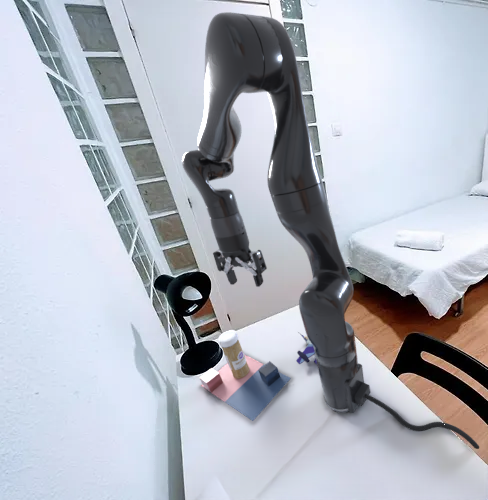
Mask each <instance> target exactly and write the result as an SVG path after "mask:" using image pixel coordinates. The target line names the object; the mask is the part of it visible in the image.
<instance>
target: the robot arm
mask: <svg viewBox="0 0 488 500" xmlns="http://www.w3.org/2000/svg"><path fill="white" fill-rule="evenodd" d="M203 77H204V78H203V79H204V82H203V90H204V93H203V95H204V97H203V98H204V99H203V103H204V109H203V117H202V122H201V125H200V129H199V132H198V136H197V143H196V145H197V149H193V150H188V151H186V152H185V153H184V154H183V156H182V158H181V159H182V160H181V164H182V168H183V170H184V172H185V174H186V175H187V177H188V179H189V180H190V181H191V182H192V184H193V186H194V187H195V188H196V190H197V192H198V194H199V195H200V196H201V198H202V200H203V203H204V205H205V208H206V211H207V215H208V216H209V220H210V226H211V229H212V233H213V234H214V237H215V240H216V244H217V247H218V249H216V250H215V251H213V253H212V255H213V258H214V261H215V264H216V268H217V271H219V272H223V273H224V274H225V275H226V278H227V280H228V283H229V284H230V285H231V286H232V285H235V284H236V283H237V282H238V278H237V274H236V272H235V270H234V267H235V268H238V267H239V268H244V269H245V270H246V271H249V272H250V273H251V274H252V278H253V280H254V284H255V287H257V288H260V287H261V286H262V284H263V283H264V278H263V275H262V274H263V273H264V272H265V271H266V270H267V269H268V267H267V264H266V261H265V259H264V255H263V252H262V250H261V249H257V250H255V251H254V250H253V251H252V250H251V249H250V239H249V236H248V232H247V229H246V226H245V222H244V219H243V216H242V214H241V212H240V209H239V206H238V202H237V198H236V196H235V193H234V191H233V190H232V189H230V188H226V187H225V188H224V187H223V188H214V187H213V185H211V184H210V182H213V181H216V180H220V179H225V178H228V177H230V176H231V175H232V174H233V173H234V172H235V152H236V149H237V147H238V145H239V144H240V143H239V142H240V141H241V137H242V124H241V120H240V118H239V116H238V113H237V112H236V109H234V104H235V102H236V101H237V99H238V97H239V96H240V95H241V94H257V93H258V94H259V93H266V94H267V98H268V100H269V104H270V108H271V113H272V119H273V124H274V134H273V140H272V141H273V142H272V148H271V154H270V156H269V162H268V168H267V175H266V176H267V179H266V180H267V188H268V192H269V194H270V197H271V202H272V203H273V206H274V209H275V213H276V214H277V217H278V220H279V221H280V224H281V225H282V227H283V228H285V230H286V231H287V232H288V233H289V235H290V236H292V238H293V239H294V240H296V241H297V242H298V243H299V245H300V246H301V247H302V248H303V250H304V252H305V253H306V257H307V259H308V262H309V266H310V269H311V273H312V274H311V275H312V279H311V281H310V282H309V284H308V285H307V286H306V288H304V290H303V291H302V292H301V294H300V296H299V299H298V310H299V314H300V318H301V321H302V325H303V327H304V331H305V334H306V336H307V337H308V339H309V341H310V342H311V343H312V344H313V347H314V352H315V354H314V356H315V359H316V361H317V364H316V365H317V370H318V374H319V379H320V383H321V389H322V392H323V399H324V403H325V404H326V406H327V407H328V408H329V409H330V410H332V411H333V412H335V413H337V414H341V413H342V414H344V413H348V412H349V413H351V414H354V413H355V411H356V409H357V408H358V407H361V408H362V407H363V406H364V404H365V403H366V401H369V402H371V403H373V404H374V405H377V406H379V407H380V408H382V409H383V410H385V411H386V412H387V413H388V414H390V415H392V416H393V417H394V418H395V419H396V420H397V421H398V422H399V423H400V424H401V425H402V426H403V427H405V428H407V429H408V430H410V431H414V432H424V431H429V430H432V429H434V428H442V429H447V430H449V431H452V432H454V433H456V434H457V435H459V436H461V437H462V438H463V439H464V440H466V441H467V442H468V443H469V444H470V445H471V446H472V447H473V448H474V449H476V450H479V449H480V446H479V444H478V443H477V442H476V440H474V439H473V438H472V437H471V436H470V435H469V434H468V433H467V432H465V431H464V430H462V429H461V428H460V427H457V426H455V425H453V424H450V423H447V422H443V421H433V422H428V423H427V424H423V425H416V424H415V425H414V424H412V423H409V422H407V421H406V420H405V419H404V418H403V417H402V416H401V415H400V414H398V412H397V411H395V410H394V409H393V408H392V407H390V406H388V405H387V404H385V403H384V402H383V401H381V400H379V399H378V398H376V397H374V396H372V395H370V394H371V387H370V384H367V383H366V382H365V377H364V369H363V368H364V367H363V364H361V363H360V362H359V360H358V352H357V343H356V335H355V330H354V328H353V326H352V325H351V323H349V322H348V321H346V319H345V314H346V313H347V310H348V309H349V306H350V304H351V302H352V299H353V296H354V285H353V282H352V278H351V276H350V273H349V271H348V267H347V265H346V263H345V261H344V257H343V255H342V252H341V249H340V246H339V243H338V239H337V234H336V231H335V226H334V223H333V219H332V215H331V211H330V207H329V203H328V198H327V194H326V190H325V186H324V182H323V179H322V176H321V172H320V169H319V166H318V162H317V158H316V154H315V150H314V145H313V141H312V137H311V133H310V129H309V124H308V118H307V113H306V107H305V102H304V95H303V90H302V84H301V77H300V72H299V66H298V61H297V55H296V52H295V48H294V45H293V42H292V40H291V37H290V34H289V33H288V31H287V29H286V28H285V26H284V25H283V24H282V22H281V21H280V20H278V19H275V18H274V17H270V16H265V15H255V14H246V13H239V12H219V13H217V14H215V15H213V17H212V19H211V20H210V22H209V25H208V28H207V30H206V37H205V47H204V76H203ZM249 263H250V264H249ZM442 422H443V423H442ZM444 424H445V425H444Z"/></svg>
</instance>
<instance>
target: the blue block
mask: <svg viewBox="0 0 488 500" xmlns="http://www.w3.org/2000/svg"><path fill="white" fill-rule="evenodd" d="M258 371H259V373H260V376H261V379H262V380H263V381H264V382H265V383H266V384H267V385H268V386H270V385H271V384H272V383H273V382H275V381H276V380H277V379H278V378H279V377H280V375H279V372H280V371H279V368H278V366H277V365H275V364H274V363H273V362H272V361H270V360H269V361H267V363H266V364H264V366H263V367H261V368H260V369H259V370H258Z"/></svg>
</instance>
